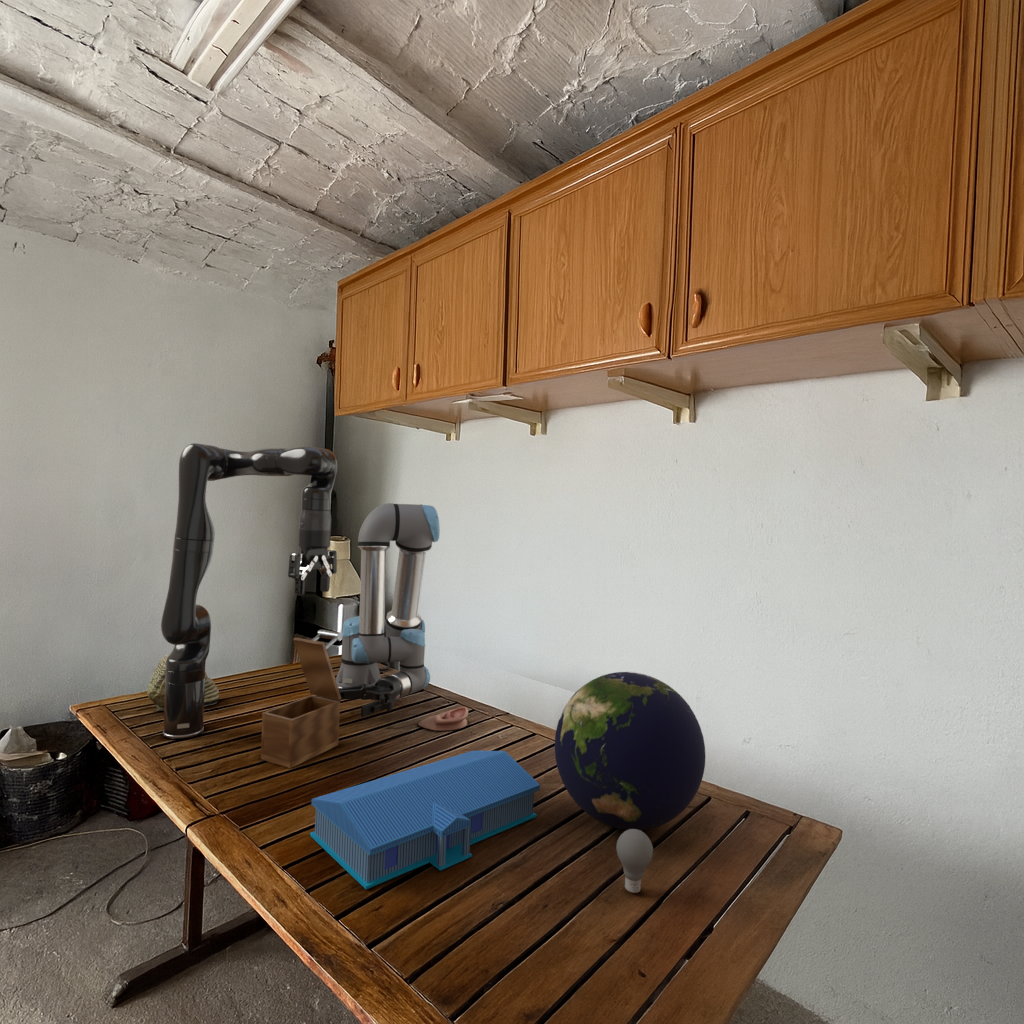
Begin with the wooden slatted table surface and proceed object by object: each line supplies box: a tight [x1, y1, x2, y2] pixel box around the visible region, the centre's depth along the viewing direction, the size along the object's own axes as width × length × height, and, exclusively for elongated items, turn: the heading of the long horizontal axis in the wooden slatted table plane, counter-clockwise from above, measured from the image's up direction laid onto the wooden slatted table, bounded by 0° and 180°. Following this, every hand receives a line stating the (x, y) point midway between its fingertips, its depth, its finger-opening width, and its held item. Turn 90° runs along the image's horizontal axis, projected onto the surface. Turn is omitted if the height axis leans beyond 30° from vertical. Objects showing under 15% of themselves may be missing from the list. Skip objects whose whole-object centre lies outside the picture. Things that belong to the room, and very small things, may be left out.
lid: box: [292, 628, 343, 701], centre depth 163 cm, size 17×10×8 cm
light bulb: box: [615, 829, 654, 894], centre depth 106 cm, size 6×6×10 cm
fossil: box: [147, 654, 221, 712], centre depth 185 cm, size 9×18×15 cm, turn 132°
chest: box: [260, 694, 341, 769], centre depth 156 cm, size 16×10×11 cm, turn 154°
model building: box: [309, 750, 541, 890], centre depth 123 cm, size 39×24×10 cm, turn 132°
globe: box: [554, 671, 706, 831], centre depth 128 cm, size 30×30×30 cm
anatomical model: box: [417, 706, 469, 732], centre depth 179 cm, size 13×4×12 cm
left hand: (312, 593), depth 157 cm, fingers open, 8 cm apart
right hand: (342, 707), depth 170 cm, fingers open, 13 cm apart
